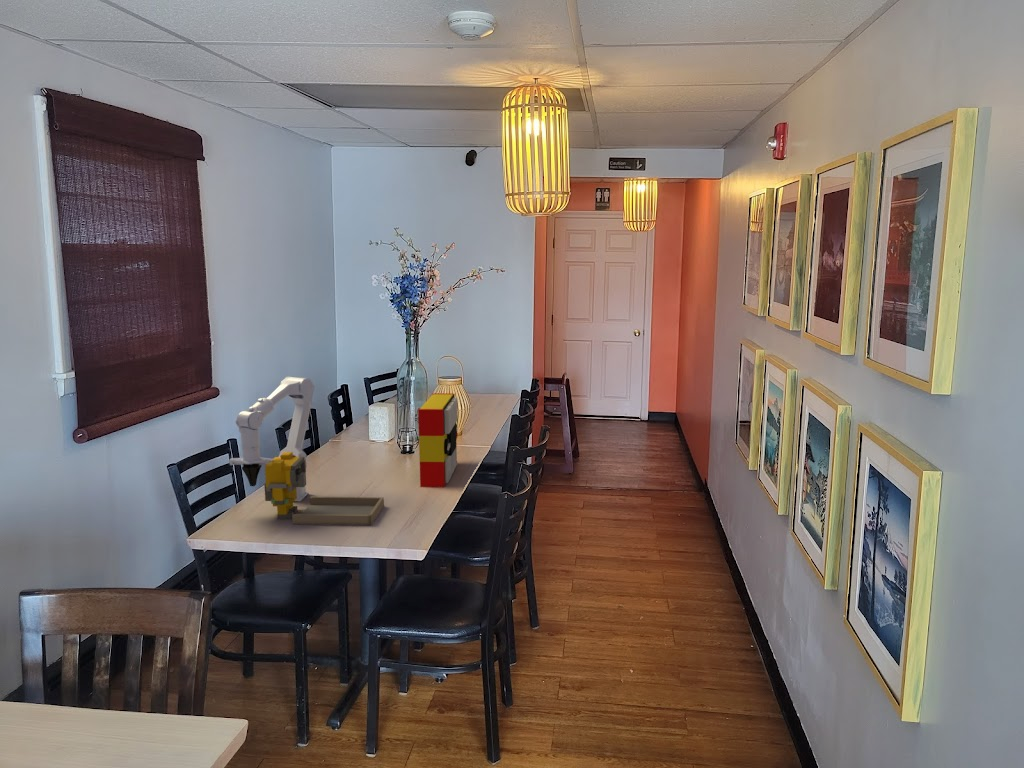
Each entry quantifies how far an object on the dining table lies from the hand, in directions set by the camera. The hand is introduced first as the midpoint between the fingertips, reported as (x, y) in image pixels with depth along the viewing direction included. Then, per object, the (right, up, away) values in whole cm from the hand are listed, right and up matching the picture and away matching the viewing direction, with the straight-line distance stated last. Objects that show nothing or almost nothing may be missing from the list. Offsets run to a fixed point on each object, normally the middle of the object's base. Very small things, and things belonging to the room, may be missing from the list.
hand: (253, 485), depth 262 cm
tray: (+29, -10, 0) cm, 31 cm away
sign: (+59, -2, +46) cm, 75 cm away
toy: (+11, -10, +1) cm, 15 cm away
